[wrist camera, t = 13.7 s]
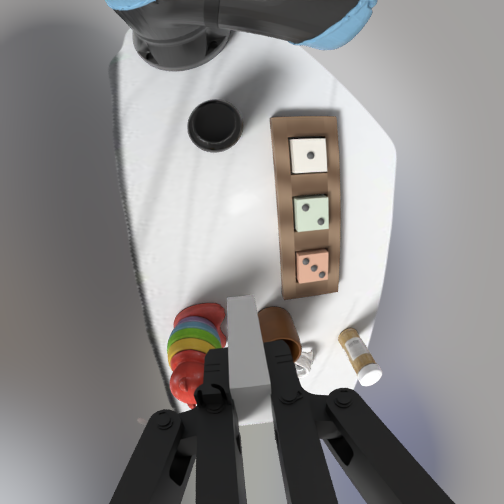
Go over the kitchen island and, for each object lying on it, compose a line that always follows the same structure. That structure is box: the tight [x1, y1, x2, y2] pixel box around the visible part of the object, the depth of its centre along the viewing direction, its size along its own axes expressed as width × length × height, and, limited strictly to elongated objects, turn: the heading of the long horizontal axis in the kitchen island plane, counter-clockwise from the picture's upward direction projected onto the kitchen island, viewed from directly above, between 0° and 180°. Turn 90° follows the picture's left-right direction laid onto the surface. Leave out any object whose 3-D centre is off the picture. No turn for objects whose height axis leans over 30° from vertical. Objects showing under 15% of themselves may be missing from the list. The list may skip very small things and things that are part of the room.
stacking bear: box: [167, 303, 226, 409], centre depth 42 cm, size 11×10×18 cm
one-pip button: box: [288, 139, 327, 173], centre depth 39 cm, size 5×5×3 cm
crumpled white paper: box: [295, 350, 313, 378], centre depth 54 cm, size 8×7×5 cm
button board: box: [270, 116, 341, 300], centre depth 43 cm, size 30×10×2 cm, turn 5°
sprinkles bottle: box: [338, 328, 382, 386], centre depth 49 cm, size 5×5×14 cm
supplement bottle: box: [187, 99, 243, 153], centre depth 33 cm, size 7×7×12 cm
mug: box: [258, 307, 302, 363], centre depth 48 cm, size 12×8×9 cm, turn 10°
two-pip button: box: [292, 194, 329, 232], centre depth 43 cm, size 5×5×3 cm
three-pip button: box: [295, 248, 328, 284], centre depth 46 cm, size 5×5×3 cm
